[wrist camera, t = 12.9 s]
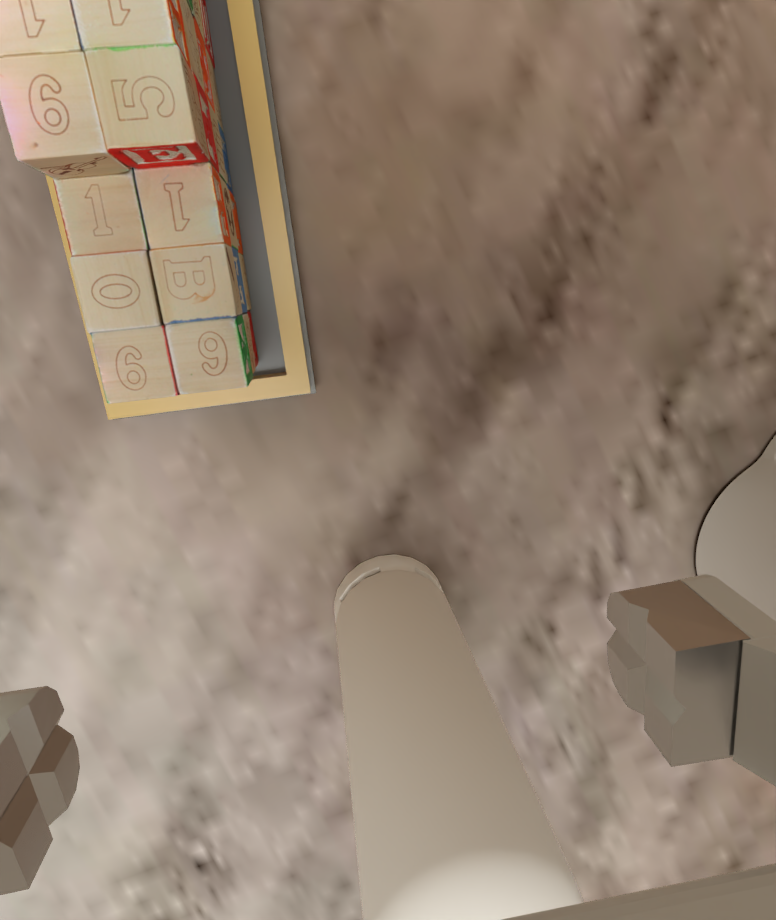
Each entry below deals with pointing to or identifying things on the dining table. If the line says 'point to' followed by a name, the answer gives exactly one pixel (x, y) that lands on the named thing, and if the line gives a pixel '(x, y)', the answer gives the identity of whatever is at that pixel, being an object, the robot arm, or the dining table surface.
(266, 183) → the yellow and grey tray
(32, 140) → the stack of blocks
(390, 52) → the dining table surface
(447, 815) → the bottle
